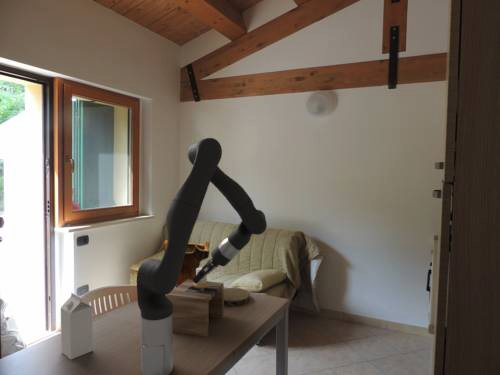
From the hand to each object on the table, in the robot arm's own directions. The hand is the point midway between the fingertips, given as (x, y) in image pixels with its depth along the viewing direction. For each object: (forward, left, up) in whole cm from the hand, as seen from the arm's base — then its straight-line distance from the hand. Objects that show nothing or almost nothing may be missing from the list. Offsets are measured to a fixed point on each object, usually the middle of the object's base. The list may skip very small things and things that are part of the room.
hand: (196, 279), depth 132 cm
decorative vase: (+29, +9, -18) cm, 35 cm away
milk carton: (-21, +36, -18) cm, 45 cm away
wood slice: (+25, -13, -18) cm, 33 cm away
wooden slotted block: (0, 0, -17) cm, 17 cm away
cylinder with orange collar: (-1, -2, -12) cm, 12 cm away
